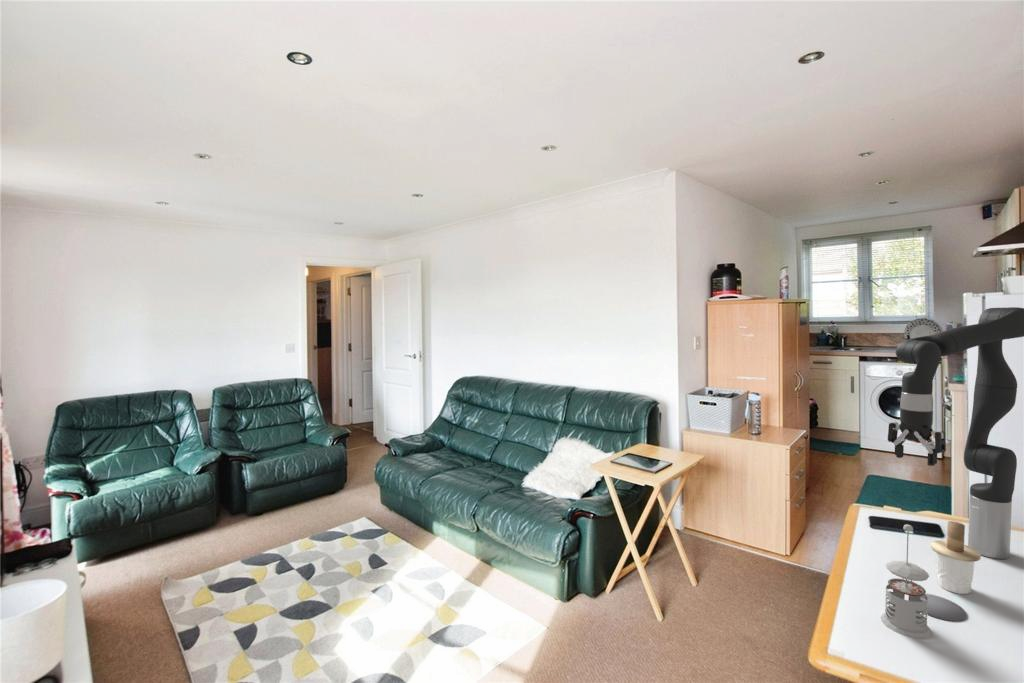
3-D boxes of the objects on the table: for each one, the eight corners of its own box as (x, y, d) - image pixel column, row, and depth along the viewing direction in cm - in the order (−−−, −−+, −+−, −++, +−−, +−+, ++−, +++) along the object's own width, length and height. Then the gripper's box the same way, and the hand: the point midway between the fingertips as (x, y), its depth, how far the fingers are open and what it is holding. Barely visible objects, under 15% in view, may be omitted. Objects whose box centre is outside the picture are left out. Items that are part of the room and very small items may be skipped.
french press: (878, 627, 119) (881, 526, 117) (882, 604, 128) (884, 510, 126) (932, 644, 113) (935, 538, 111) (931, 618, 121) (935, 520, 120)
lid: (945, 540, 140) (946, 513, 139) (989, 556, 130) (990, 528, 130) (922, 547, 136) (923, 520, 136) (966, 564, 127) (967, 535, 126)
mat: (926, 591, 133) (926, 589, 133) (976, 614, 122) (976, 613, 122) (899, 600, 129) (899, 598, 129) (947, 625, 119) (947, 623, 119)
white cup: (981, 597, 129) (982, 560, 129) (946, 594, 131) (947, 558, 130) (960, 580, 137) (961, 545, 136) (928, 578, 139) (929, 543, 138)
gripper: (952, 411, 141) (951, 466, 142) (899, 402, 154) (898, 453, 155) (935, 413, 138) (933, 470, 139) (882, 404, 151) (881, 456, 153)
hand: (914, 461), depth 147 cm, fingers open, 8 cm apart
